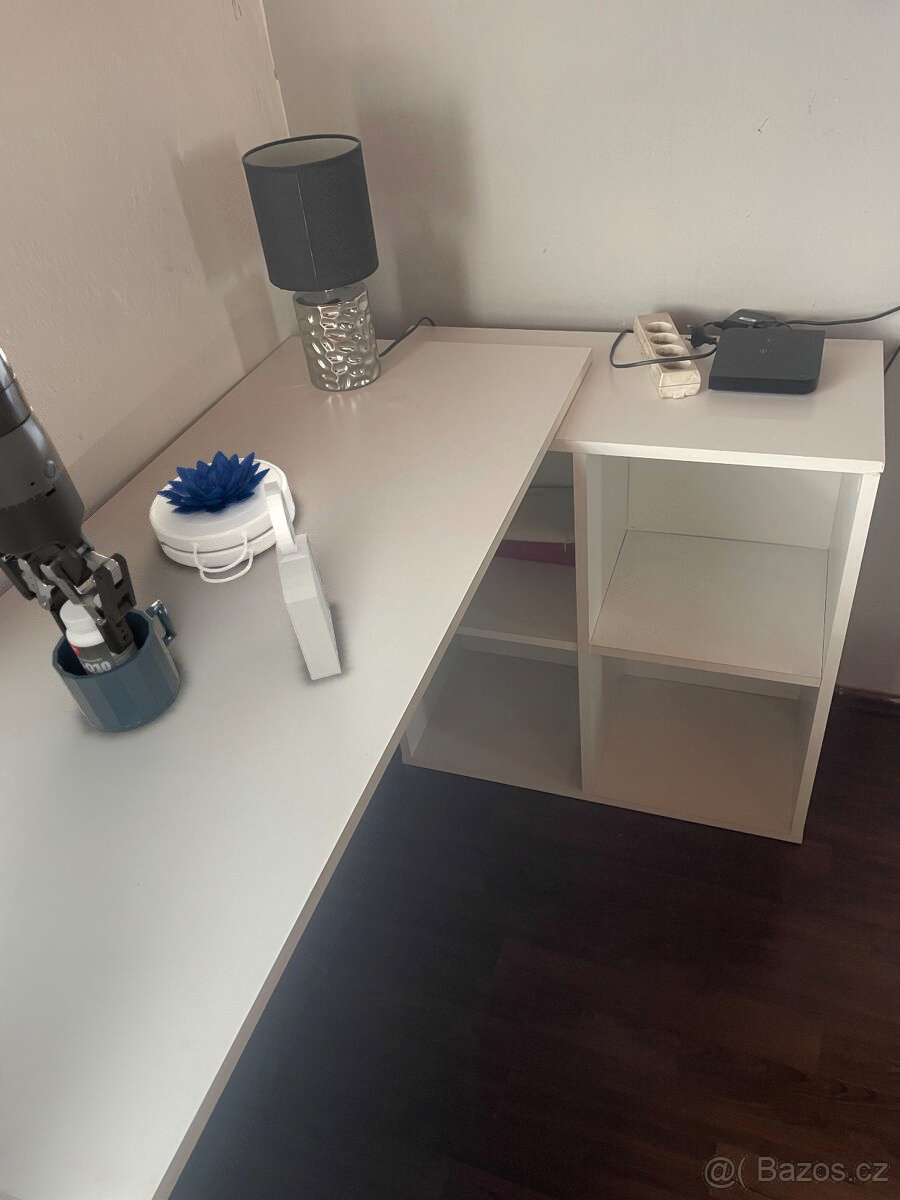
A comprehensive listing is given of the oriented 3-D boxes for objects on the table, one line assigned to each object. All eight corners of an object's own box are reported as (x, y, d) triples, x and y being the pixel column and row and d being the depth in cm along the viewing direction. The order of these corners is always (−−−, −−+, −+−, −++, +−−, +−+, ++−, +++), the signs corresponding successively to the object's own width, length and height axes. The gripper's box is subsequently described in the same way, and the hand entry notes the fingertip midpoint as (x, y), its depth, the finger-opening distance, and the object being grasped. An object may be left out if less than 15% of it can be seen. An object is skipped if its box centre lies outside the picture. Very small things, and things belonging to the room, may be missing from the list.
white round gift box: (146, 454, 101) (128, 556, 86) (278, 427, 101) (283, 523, 86) (167, 502, 105) (152, 607, 90) (293, 476, 106) (300, 576, 91)
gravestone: (329, 608, 86) (282, 453, 74) (341, 672, 79) (291, 513, 67) (302, 614, 86) (251, 461, 74) (312, 680, 79) (257, 522, 67)
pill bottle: (83, 688, 78) (42, 619, 72) (115, 652, 81) (78, 583, 76) (124, 697, 76) (85, 628, 71) (156, 660, 79) (121, 591, 74)
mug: (137, 743, 76) (105, 689, 71) (64, 718, 80) (30, 665, 75) (216, 653, 83) (192, 599, 79) (147, 634, 87) (120, 581, 82)
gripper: (-92, 491, 65) (12, 651, 76) (41, 520, 59) (133, 690, 70) (-15, 439, 70) (73, 598, 81) (115, 462, 64) (191, 629, 75)
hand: (100, 640), depth 76 cm, fingers closed on pill bottle, 4 cm apart
